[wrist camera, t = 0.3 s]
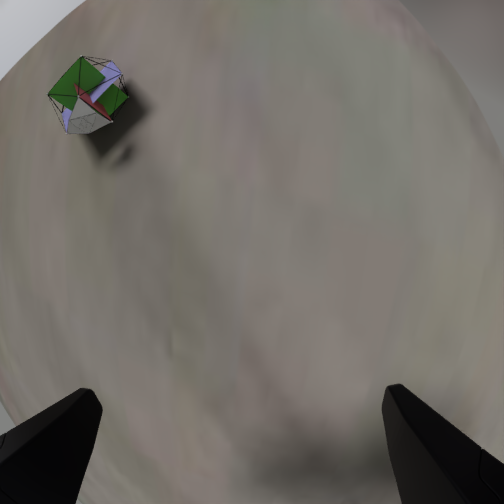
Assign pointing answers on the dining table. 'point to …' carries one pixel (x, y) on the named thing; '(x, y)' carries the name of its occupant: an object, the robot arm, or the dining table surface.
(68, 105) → the geometric puzzle
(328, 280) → the dining table surface
